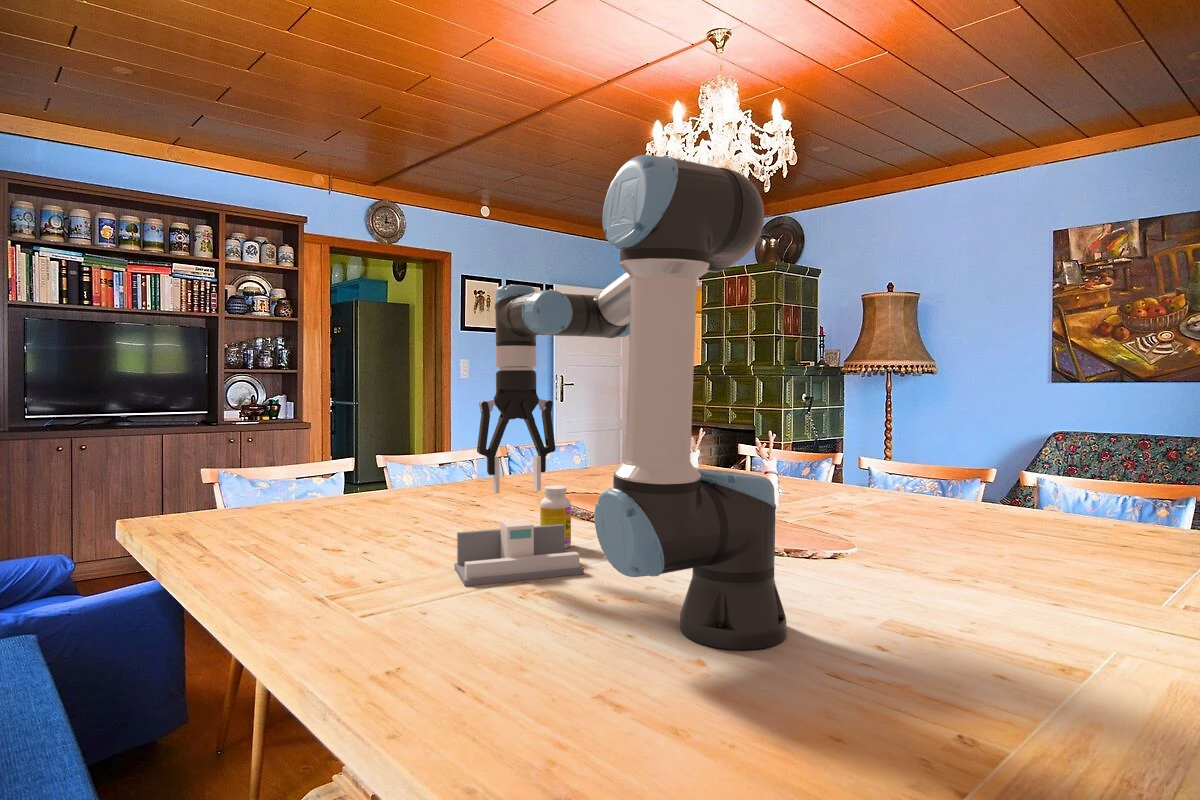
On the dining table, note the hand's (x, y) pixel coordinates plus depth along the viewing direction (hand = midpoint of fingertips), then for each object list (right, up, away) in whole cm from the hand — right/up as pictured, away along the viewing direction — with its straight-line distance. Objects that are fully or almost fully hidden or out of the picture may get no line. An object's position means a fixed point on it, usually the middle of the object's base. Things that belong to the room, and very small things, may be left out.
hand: (516, 490), depth 135 cm
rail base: (0, -15, 0) cm, 15 cm away
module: (0, -14, +1) cm, 14 cm away
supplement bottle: (+6, -15, +19) cm, 25 cm away
